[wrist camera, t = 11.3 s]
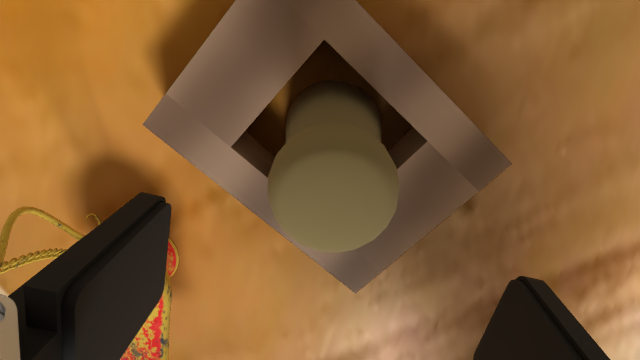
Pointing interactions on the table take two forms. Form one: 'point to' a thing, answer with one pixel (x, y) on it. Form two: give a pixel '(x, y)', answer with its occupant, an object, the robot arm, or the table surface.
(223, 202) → the table surface
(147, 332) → the magic lamp
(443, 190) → the shaker holder
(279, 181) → the cork
